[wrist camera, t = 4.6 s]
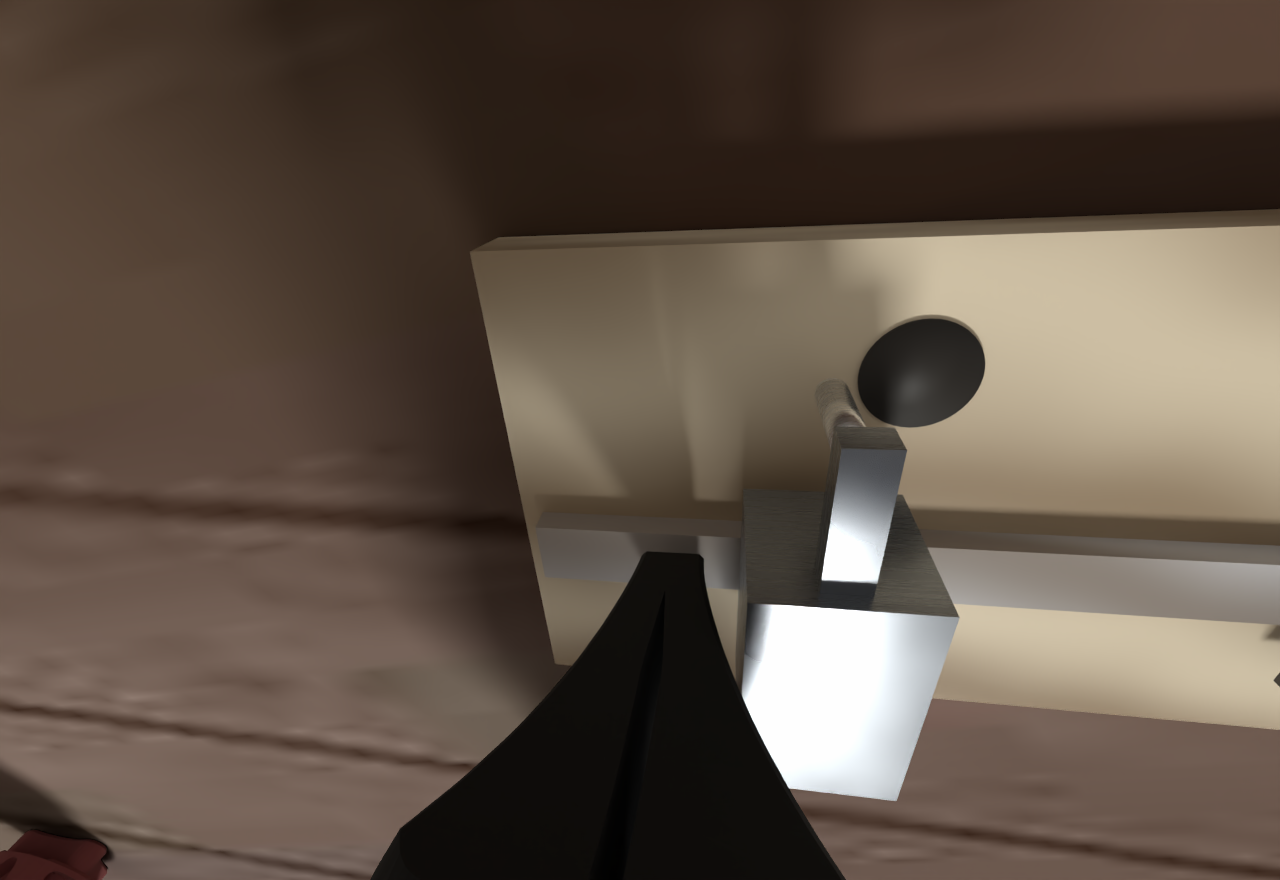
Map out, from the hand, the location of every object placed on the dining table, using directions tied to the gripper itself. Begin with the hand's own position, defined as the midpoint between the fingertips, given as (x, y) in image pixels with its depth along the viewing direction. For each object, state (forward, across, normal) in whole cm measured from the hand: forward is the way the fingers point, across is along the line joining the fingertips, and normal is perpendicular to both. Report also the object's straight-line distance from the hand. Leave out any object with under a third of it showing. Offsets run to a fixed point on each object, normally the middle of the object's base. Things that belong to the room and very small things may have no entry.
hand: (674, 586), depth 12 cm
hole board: (+3, -8, -1) cm, 8 cm away
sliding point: (+1, -3, -1) cm, 3 cm away
